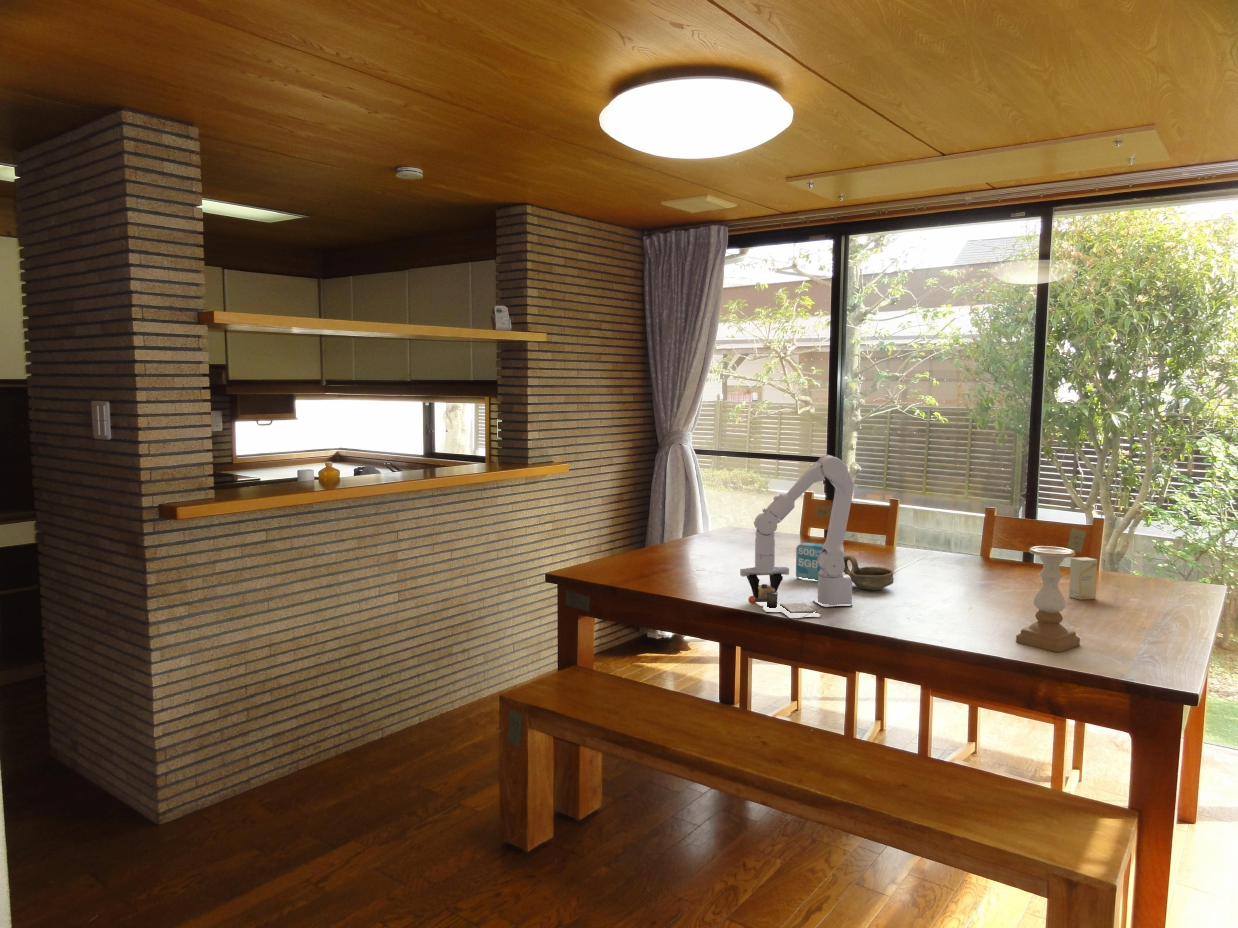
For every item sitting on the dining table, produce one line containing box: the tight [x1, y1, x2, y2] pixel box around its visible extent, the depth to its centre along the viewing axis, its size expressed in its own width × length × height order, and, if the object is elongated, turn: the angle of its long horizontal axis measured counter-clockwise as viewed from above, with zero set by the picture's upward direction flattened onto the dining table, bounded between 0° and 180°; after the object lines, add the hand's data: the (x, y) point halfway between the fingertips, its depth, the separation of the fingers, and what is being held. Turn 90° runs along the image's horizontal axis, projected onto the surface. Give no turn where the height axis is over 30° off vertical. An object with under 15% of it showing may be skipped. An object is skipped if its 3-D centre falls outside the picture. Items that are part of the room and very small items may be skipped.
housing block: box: [758, 583, 775, 602], centre depth 246 cm, size 5×6×6 cm
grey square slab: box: [780, 602, 821, 614], centre depth 236 cm, size 13×12×2 cm
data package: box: [795, 542, 824, 580], centre depth 275 cm, size 12×4×12 cm, turn 55°
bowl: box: [842, 554, 895, 591], centre depth 265 cm, size 14×18×10 cm
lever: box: [747, 591, 778, 608], centre depth 237 cm, size 9×3×4 cm, turn 100°
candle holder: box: [1015, 545, 1081, 654], centre depth 206 cm, size 11×11×24 cm
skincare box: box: [1068, 556, 1098, 601], centre depth 252 cm, size 6×4×12 cm
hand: (764, 598), depth 246 cm, fingers closed on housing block, 5 cm apart
